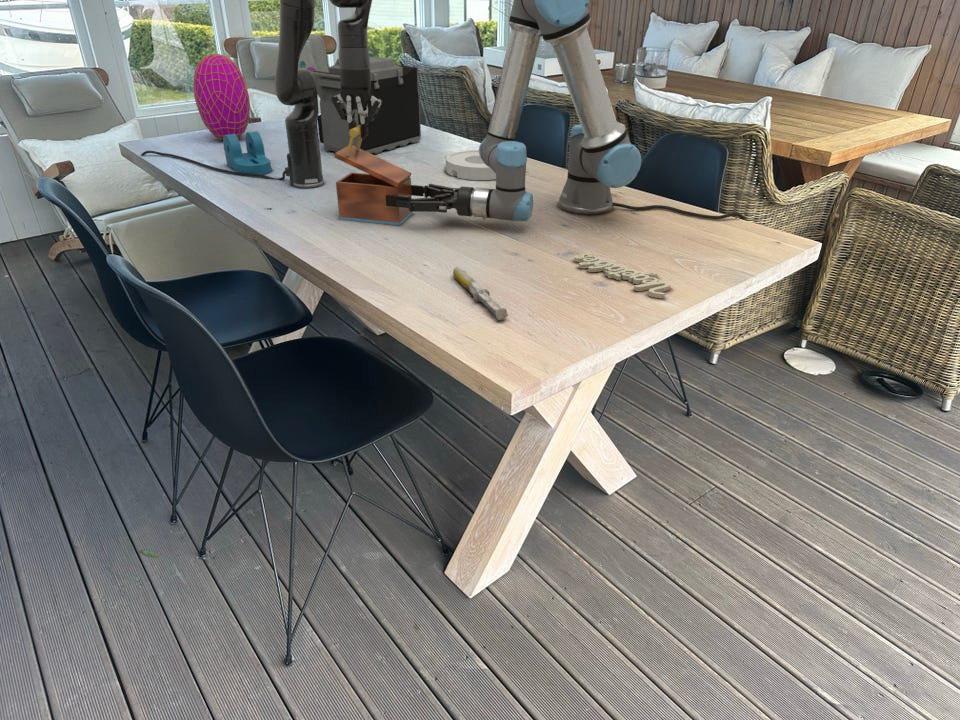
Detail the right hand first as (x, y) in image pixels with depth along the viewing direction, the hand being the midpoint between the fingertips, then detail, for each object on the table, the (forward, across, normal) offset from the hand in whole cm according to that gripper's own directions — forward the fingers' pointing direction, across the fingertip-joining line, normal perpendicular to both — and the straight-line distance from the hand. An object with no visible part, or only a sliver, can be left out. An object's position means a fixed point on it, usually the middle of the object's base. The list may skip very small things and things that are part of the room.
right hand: (393, 194), depth 184 cm
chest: (+5, 0, -7) cm, 9 cm away
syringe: (-35, -42, -7) cm, 55 cm away
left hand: (+9, 0, +14) cm, 17 cm away
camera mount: (+64, +33, -7) cm, 72 cm away
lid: (+6, 0, +7) cm, 9 cm away
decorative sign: (-64, -22, -7) cm, 68 cm away
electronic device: (+38, +75, -7) cm, 84 cm away
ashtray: (-10, +53, -7) cm, 55 cm away
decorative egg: (+94, +68, -7) cm, 116 cm away
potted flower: (+79, +104, -7) cm, 131 cm away
